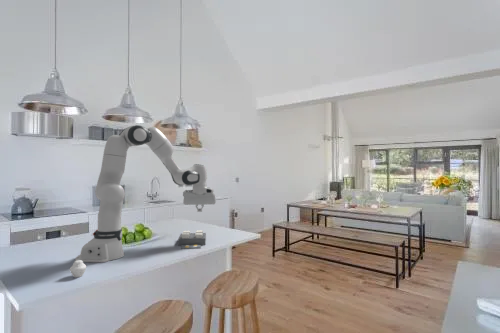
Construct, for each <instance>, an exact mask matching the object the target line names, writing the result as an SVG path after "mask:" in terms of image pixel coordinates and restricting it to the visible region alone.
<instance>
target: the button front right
mask: <svg viewBox="0 0 500 333" xmlns="http://www.w3.org/2000/svg"><path fill="white" fill-rule="evenodd" d="M195 233H196V232H195ZM195 238H202V233H196V234H195Z"/></svg>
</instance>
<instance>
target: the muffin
mask: <svg viewBox="0 0 500 333" xmlns="http://www.w3.org/2000/svg"><path fill="white" fill-rule="evenodd" d="M86 269H87V265H86V264H85V262H83V261H82V260H77V261H75V260H74V261H73V264H72V265H71V266H70V268H69V272H70V274H71V275H72V276H73V278H80V277H83V276H84V273H85V272H86Z"/></svg>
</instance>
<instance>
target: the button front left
mask: <svg viewBox="0 0 500 333" xmlns="http://www.w3.org/2000/svg"><path fill="white" fill-rule="evenodd" d="M184 238H189V233H183V232H182V239H184Z"/></svg>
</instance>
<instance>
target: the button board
mask: <svg viewBox="0 0 500 333" xmlns="http://www.w3.org/2000/svg"><path fill="white" fill-rule="evenodd" d="M182 233H183V232H182ZM182 233H180V234H179V237H178V239H177V246H178V247H182V245H201V246H206V242H207V232H203V235H202V238H195V234H196V232H193V233H191V232H190V236H189V238H184V239H182Z"/></svg>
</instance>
